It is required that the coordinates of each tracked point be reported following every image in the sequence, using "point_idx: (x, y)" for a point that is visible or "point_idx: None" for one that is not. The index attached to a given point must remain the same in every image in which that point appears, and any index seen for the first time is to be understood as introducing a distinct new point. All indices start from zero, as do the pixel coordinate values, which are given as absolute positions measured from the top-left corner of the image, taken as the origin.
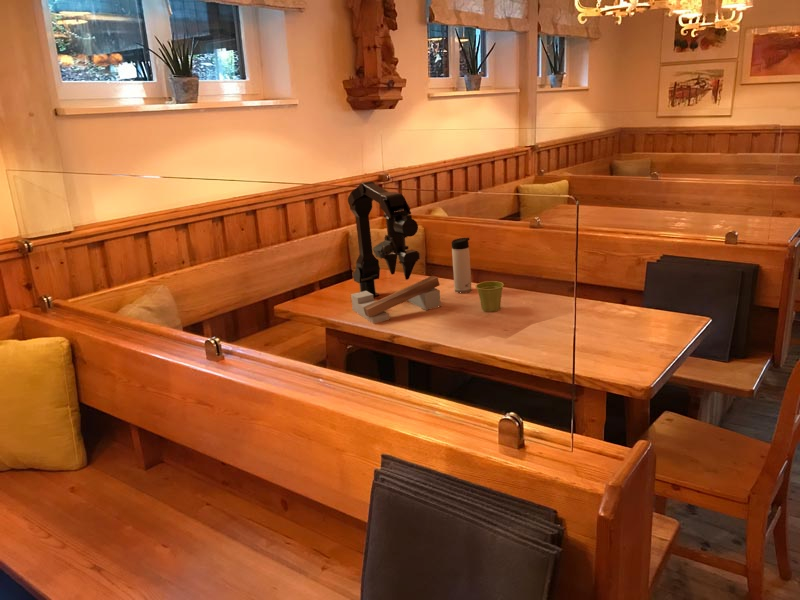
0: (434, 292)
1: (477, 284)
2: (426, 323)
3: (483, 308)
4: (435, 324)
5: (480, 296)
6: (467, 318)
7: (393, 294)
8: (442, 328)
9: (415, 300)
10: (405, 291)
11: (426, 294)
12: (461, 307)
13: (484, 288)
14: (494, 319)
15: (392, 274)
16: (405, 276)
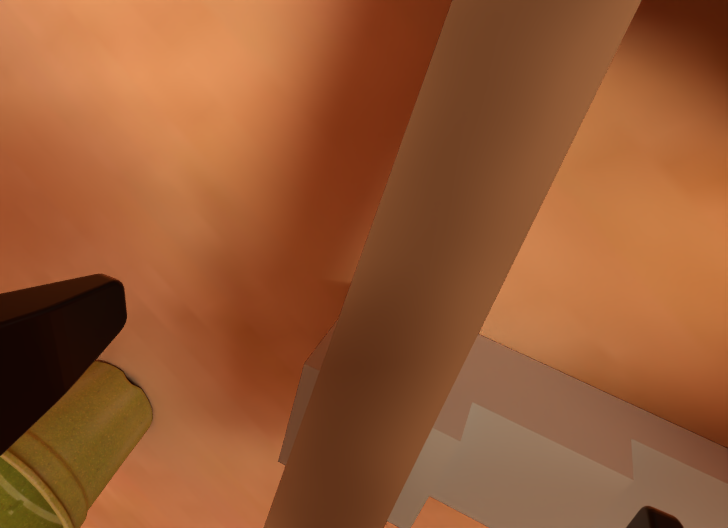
0: (289, 424)
1: (50, 505)
2: (157, 58)
3: (101, 373)
4: (105, 78)
5: (49, 417)
6: (82, 254)
7: (516, 162)
8: (24, 42)
9: (517, 381)
10: (379, 270)
11: (305, 371)
12: (234, 388)
13: (87, 503)
14: (7, 288)
15: (642, 511)
16: (32, 292)
